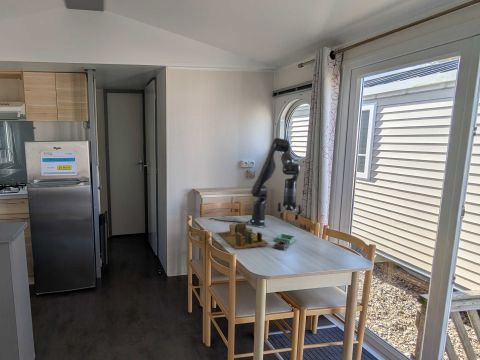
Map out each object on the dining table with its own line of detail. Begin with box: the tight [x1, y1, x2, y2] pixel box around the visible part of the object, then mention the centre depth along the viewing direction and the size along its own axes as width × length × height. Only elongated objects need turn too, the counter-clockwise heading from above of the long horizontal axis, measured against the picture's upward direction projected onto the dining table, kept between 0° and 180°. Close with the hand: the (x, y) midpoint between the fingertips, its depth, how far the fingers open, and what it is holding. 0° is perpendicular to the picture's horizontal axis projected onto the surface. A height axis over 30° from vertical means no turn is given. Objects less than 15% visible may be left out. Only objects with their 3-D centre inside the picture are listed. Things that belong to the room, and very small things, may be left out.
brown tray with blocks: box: [218, 222, 269, 250], centre depth 207 cm, size 35×24×15 cm
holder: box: [275, 233, 296, 246], centre depth 205 cm, size 11×9×3 cm
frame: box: [274, 241, 289, 251], centre depth 194 cm, size 8×6×3 cm
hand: (289, 219), depth 193 cm, fingers open, 8 cm apart
